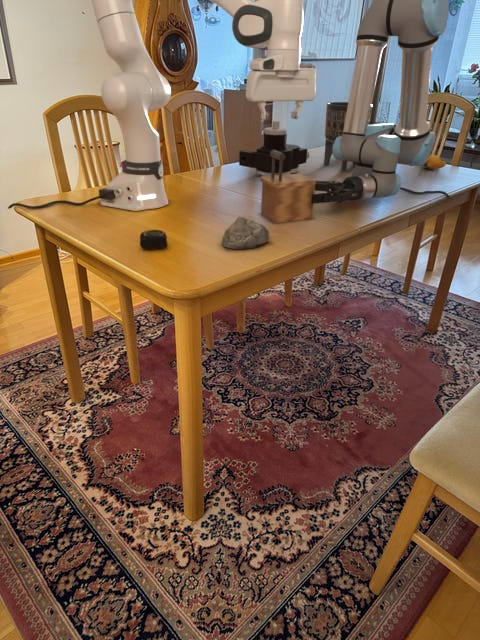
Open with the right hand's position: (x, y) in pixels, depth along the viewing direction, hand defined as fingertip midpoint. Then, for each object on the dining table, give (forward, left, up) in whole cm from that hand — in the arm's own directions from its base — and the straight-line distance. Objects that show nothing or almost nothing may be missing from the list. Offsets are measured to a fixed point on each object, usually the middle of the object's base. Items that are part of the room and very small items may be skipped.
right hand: (301, 193), depth 142 cm
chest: (+4, +2, -7) cm, 8 cm away
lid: (+4, +2, +4) cm, 6 cm away
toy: (-64, -82, -7) cm, 104 cm away
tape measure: (+38, +34, -7) cm, 52 cm away
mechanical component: (+6, -59, -7) cm, 60 cm away
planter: (-23, -77, -7) cm, 81 cm away
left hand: (+8, +4, +22) cm, 23 cm away
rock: (+15, +28, -7) cm, 33 cm away
